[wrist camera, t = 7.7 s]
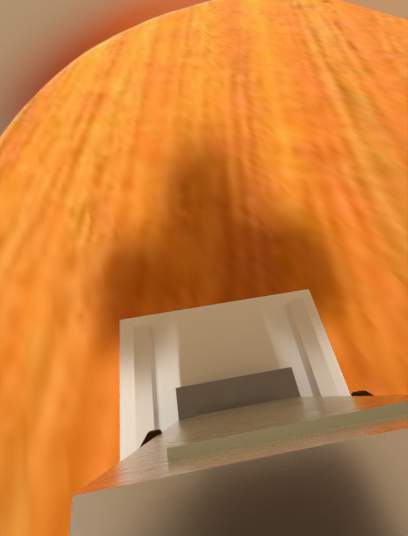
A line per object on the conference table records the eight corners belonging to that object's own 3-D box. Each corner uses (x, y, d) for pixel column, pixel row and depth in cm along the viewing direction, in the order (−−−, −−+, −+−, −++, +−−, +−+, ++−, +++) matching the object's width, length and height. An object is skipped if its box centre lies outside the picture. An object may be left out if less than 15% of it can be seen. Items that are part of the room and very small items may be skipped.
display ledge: (413, 594, 12) (464, 642, 10) (131, 663, 11) (110, 734, 9) (302, 296, 20) (315, 282, 17) (126, 325, 19) (113, 314, 16)
